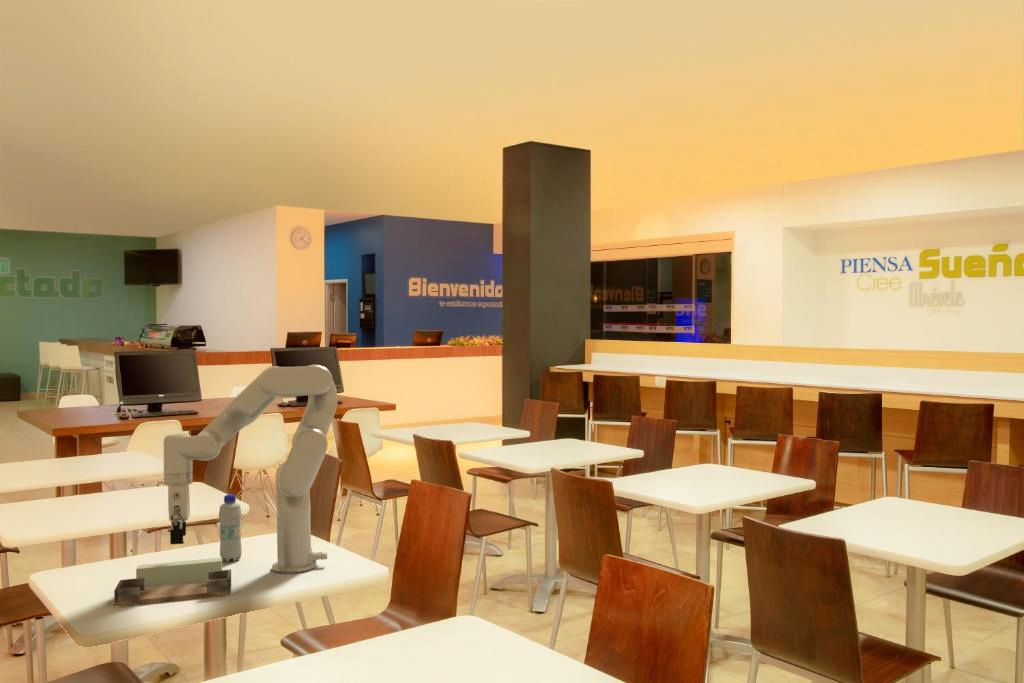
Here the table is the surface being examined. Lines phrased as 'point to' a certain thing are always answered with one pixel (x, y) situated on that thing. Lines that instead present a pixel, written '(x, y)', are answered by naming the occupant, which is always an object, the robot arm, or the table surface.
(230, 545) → the bottle
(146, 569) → the slat
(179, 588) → the cradle
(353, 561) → the table surface
